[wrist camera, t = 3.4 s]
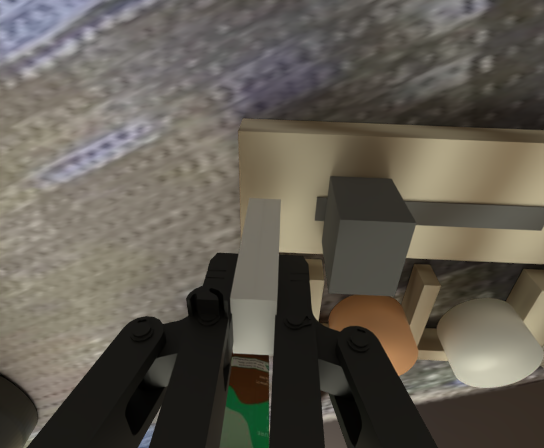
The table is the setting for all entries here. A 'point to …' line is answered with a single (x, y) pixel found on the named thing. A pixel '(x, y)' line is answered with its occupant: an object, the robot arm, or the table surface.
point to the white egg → (488, 343)
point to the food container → (247, 403)
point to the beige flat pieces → (410, 199)
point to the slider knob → (365, 236)
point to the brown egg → (379, 326)
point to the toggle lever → (543, 358)
